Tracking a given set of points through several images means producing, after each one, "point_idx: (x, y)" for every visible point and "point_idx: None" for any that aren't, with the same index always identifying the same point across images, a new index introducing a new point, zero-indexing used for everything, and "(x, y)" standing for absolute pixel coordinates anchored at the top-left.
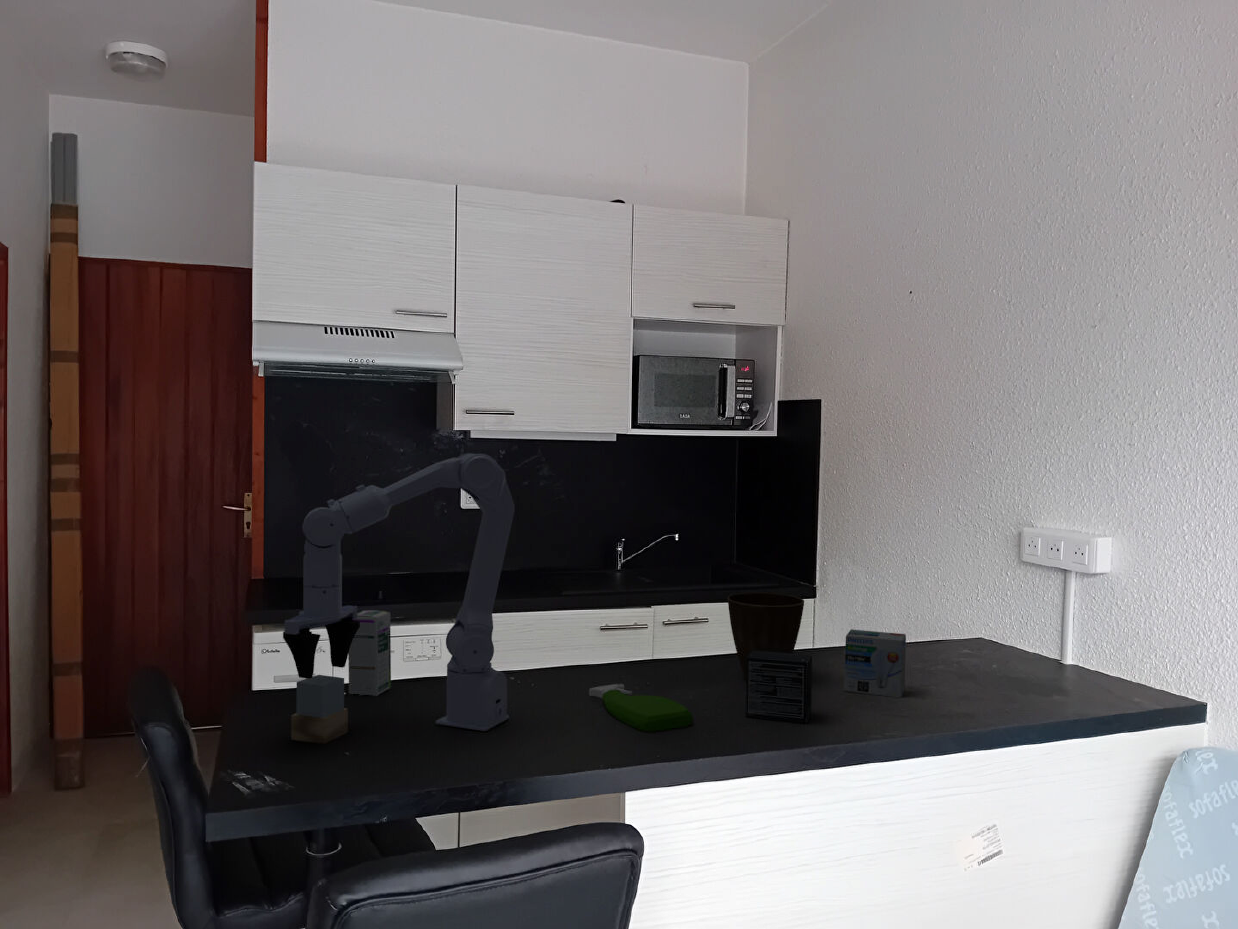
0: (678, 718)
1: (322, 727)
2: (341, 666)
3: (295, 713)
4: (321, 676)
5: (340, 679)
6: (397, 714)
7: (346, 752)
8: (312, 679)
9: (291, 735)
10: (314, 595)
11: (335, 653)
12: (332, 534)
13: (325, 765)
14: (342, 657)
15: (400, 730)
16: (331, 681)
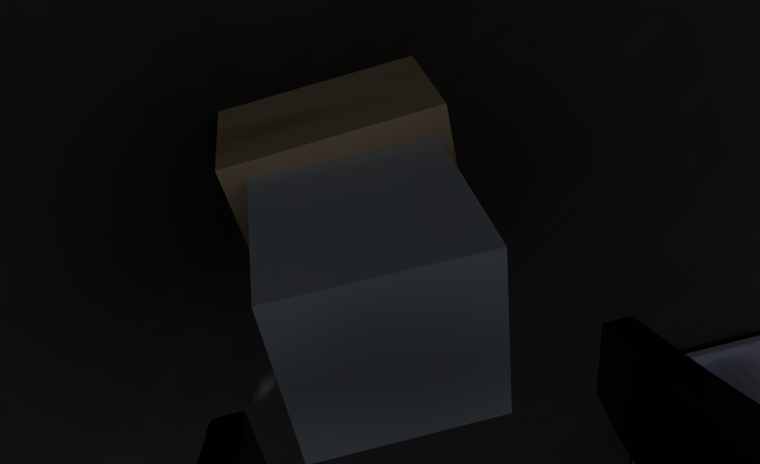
0: None
1: None
2: (601, 391)
3: (254, 161)
4: (475, 299)
5: (476, 420)
6: (731, 180)
7: (268, 380)
8: (377, 322)
9: (218, 123)
10: None
11: (664, 427)
12: None
13: (134, 428)
14: (637, 455)
15: (553, 328)
16: (410, 426)
